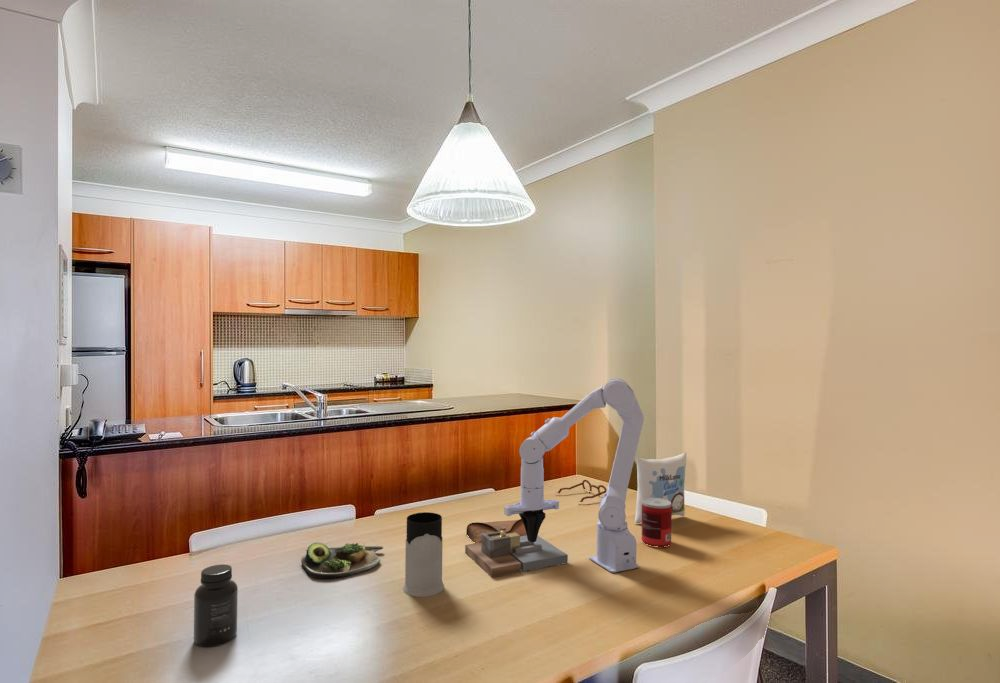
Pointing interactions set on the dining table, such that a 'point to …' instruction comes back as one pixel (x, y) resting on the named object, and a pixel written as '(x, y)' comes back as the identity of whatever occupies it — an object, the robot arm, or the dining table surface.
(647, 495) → the pouch
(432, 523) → the glass holder
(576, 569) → the dining table surface
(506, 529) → the sunglasses case
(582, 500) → the glasses
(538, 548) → the door leaf
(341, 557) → the salad plate
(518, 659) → the dining table surface
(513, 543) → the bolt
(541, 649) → the dining table surface
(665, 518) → the canned food
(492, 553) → the panel
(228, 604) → the supplement bottle
